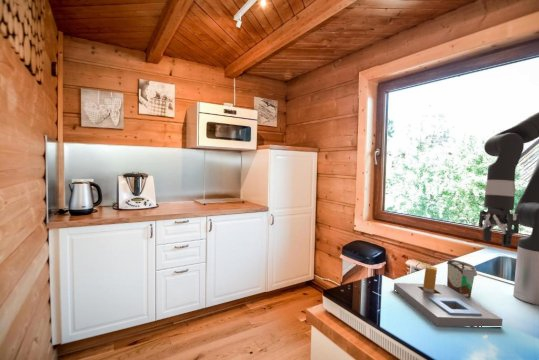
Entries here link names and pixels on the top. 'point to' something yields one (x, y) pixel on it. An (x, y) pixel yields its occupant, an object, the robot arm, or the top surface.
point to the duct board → (446, 306)
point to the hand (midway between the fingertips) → (495, 243)
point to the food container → (460, 277)
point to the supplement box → (429, 279)
